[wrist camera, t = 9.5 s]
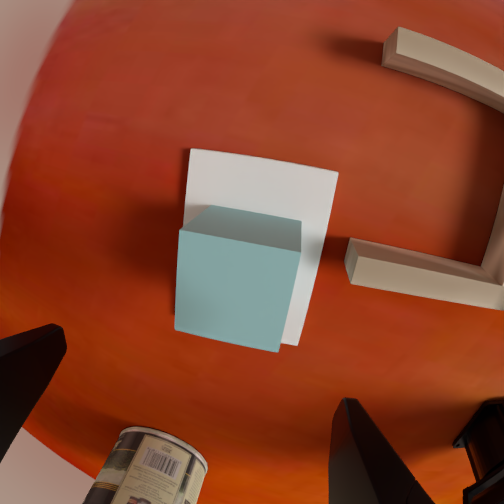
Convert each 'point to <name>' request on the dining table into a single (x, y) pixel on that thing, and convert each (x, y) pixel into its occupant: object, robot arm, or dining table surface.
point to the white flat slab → (268, 207)
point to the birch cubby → (500, 243)
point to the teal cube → (236, 276)
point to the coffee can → (149, 470)
